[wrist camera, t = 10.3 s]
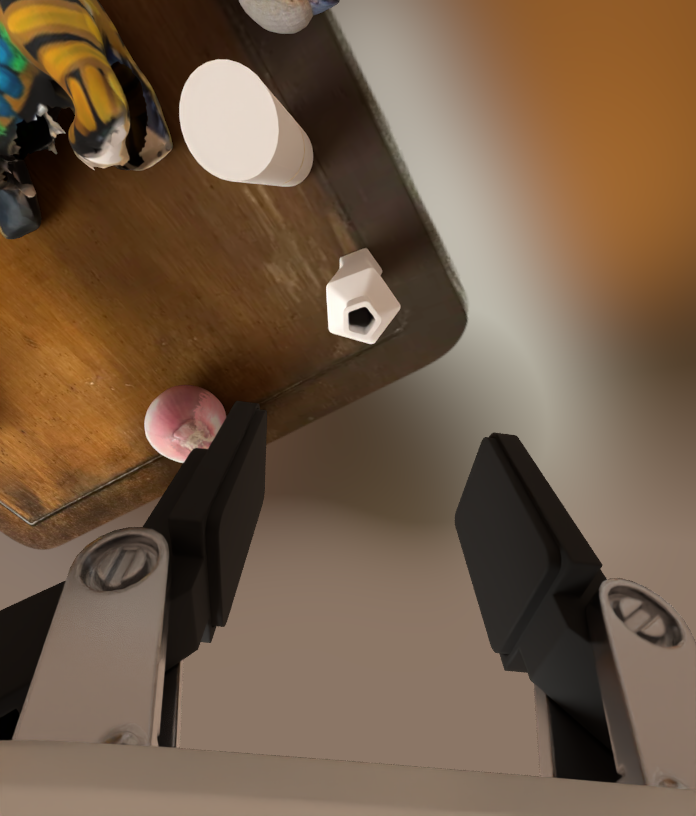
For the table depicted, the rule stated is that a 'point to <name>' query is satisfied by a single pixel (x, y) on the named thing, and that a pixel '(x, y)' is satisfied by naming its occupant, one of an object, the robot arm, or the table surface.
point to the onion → (183, 421)
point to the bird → (285, 13)
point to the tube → (241, 127)
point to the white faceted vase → (359, 299)
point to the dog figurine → (69, 99)
